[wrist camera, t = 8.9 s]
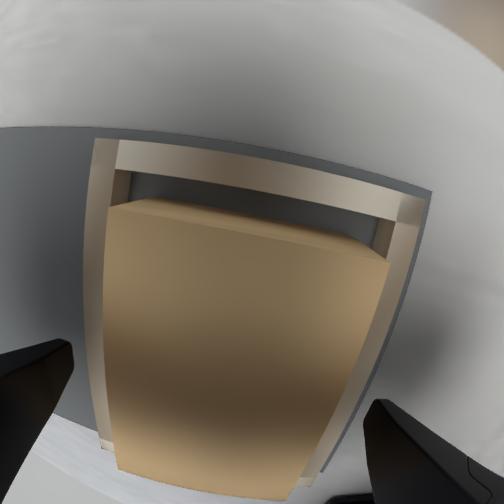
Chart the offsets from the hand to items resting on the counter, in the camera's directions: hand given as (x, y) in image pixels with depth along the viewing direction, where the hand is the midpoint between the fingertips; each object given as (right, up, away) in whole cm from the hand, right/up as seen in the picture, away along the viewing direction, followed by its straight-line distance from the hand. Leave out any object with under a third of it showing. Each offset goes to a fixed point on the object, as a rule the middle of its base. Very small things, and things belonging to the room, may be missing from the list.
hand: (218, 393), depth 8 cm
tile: (0, +1, +2) cm, 2 cm away
